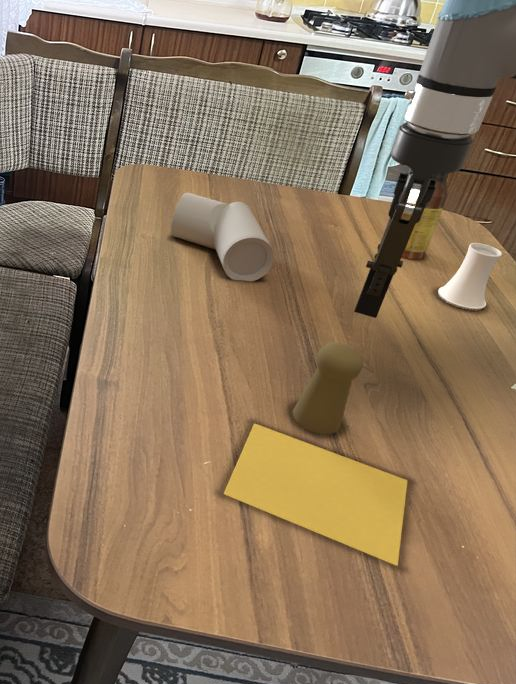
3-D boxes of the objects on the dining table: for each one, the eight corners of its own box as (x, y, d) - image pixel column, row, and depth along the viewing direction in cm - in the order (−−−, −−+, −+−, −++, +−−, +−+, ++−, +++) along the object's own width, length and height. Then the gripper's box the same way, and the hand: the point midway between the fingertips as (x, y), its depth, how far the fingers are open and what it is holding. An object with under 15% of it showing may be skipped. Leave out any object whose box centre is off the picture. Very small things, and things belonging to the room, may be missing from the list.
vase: (437, 286, 122) (461, 235, 116) (484, 299, 119) (510, 248, 113) (434, 303, 116) (459, 250, 111) (482, 318, 114) (511, 264, 108)
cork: (307, 438, 84) (336, 366, 78) (282, 407, 88) (308, 337, 82) (349, 433, 85) (381, 362, 79) (322, 403, 90) (350, 334, 84)
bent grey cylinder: (290, 248, 126) (189, 218, 134) (303, 199, 119) (196, 170, 127) (257, 304, 116) (150, 267, 124) (269, 254, 108) (155, 219, 116)
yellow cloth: (406, 482, 79) (407, 480, 79) (396, 568, 68) (397, 565, 68) (253, 425, 85) (254, 423, 85) (222, 496, 74) (223, 493, 74)
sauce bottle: (427, 255, 133) (471, 155, 121) (416, 264, 129) (461, 162, 117) (393, 243, 136) (434, 145, 125) (382, 252, 132) (422, 151, 121)
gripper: (405, 109, 81) (342, 284, 94) (396, 135, 71) (327, 326, 84) (475, 122, 78) (400, 299, 92) (475, 150, 68) (392, 345, 82)
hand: (365, 312), depth 88 cm, fingers closed
